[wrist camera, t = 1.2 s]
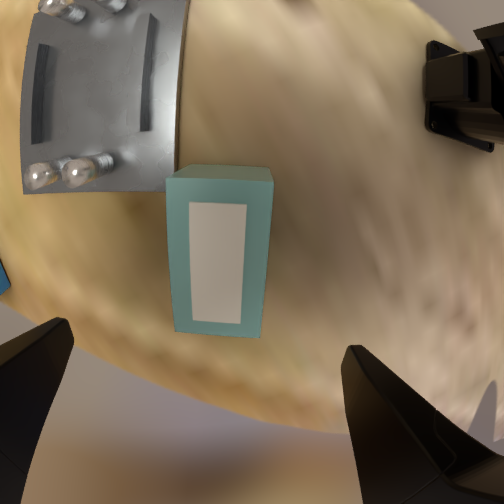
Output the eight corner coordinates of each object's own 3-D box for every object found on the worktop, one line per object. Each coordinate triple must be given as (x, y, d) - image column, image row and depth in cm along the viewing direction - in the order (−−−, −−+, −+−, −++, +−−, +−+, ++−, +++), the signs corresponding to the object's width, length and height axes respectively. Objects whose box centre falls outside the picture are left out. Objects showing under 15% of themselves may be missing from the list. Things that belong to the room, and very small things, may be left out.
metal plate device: (193, -23, 11) (177, -57, 7) (177, 189, 17) (154, 208, 13) (40, 16, 11) (4, 5, 7) (29, 191, 16) (-9, 209, 13)
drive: (268, 167, 16) (274, 183, 12) (258, 289, 19) (259, 339, 15) (190, 163, 16) (164, 178, 11) (191, 285, 19) (174, 333, 15)
